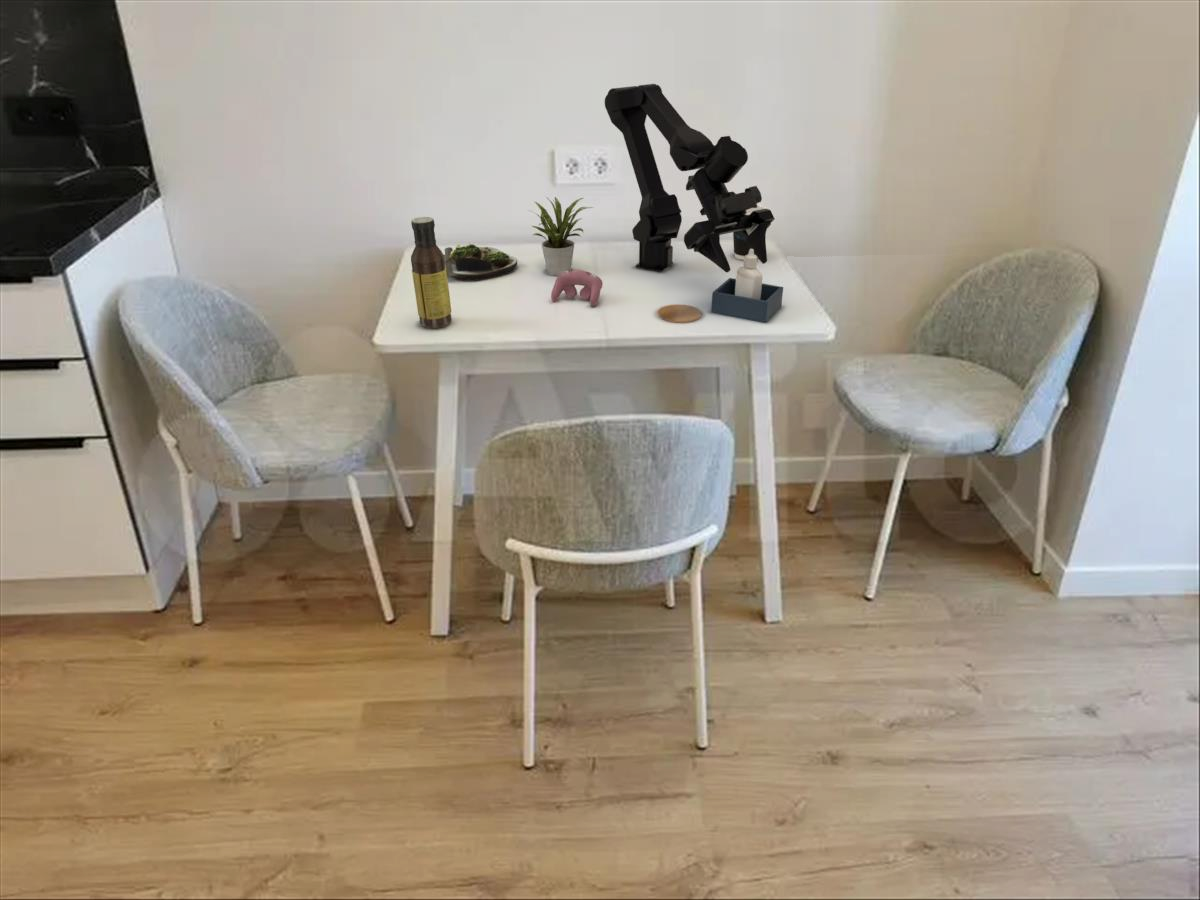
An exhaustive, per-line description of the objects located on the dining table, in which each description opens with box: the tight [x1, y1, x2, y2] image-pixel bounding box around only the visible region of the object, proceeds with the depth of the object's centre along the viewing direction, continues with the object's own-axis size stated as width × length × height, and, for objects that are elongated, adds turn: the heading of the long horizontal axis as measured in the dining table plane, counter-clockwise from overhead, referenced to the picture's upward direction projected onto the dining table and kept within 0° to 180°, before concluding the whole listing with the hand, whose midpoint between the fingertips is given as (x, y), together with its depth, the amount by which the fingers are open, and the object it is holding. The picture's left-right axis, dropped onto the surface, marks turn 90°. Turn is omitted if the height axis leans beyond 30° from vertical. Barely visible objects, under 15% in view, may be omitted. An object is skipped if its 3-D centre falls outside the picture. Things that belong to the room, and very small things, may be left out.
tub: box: [710, 277, 784, 323], centre depth 172 cm, size 11×9×4 cm
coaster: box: [657, 304, 702, 324], centre depth 171 cm, size 8×8×1 cm
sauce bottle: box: [410, 216, 452, 329], centre depth 163 cm, size 6×6×20 cm
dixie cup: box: [732, 204, 768, 261], centre depth 198 cm, size 8×8×11 cm
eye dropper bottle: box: [735, 249, 763, 300], centre depth 170 cm, size 4×6×12 cm
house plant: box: [527, 196, 594, 276], centre depth 189 cm, size 14×14×16 cm
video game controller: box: [550, 269, 603, 307], centre depth 177 cm, size 10×5×7 cm, turn 71°
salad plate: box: [443, 243, 518, 282], centre depth 195 cm, size 19×18×5 cm
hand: (747, 267), depth 170 cm, fingers open, 9 cm apart
